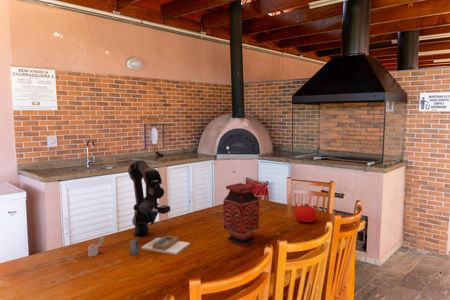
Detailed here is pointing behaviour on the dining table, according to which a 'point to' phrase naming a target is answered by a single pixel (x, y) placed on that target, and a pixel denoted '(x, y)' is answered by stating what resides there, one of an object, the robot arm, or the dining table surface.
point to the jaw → (161, 240)
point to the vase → (241, 213)
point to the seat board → (167, 245)
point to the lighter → (94, 248)
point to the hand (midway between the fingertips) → (152, 224)
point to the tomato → (305, 213)
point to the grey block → (134, 247)
